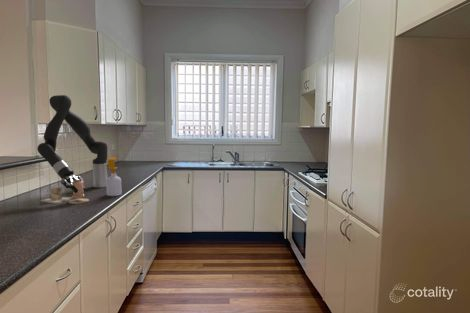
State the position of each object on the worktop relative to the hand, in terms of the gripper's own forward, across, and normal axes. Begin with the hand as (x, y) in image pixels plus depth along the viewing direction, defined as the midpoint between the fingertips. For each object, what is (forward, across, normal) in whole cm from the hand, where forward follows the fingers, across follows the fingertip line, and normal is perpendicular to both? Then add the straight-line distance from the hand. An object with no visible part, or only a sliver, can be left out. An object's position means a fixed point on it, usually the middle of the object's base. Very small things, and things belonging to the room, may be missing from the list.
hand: (80, 190), depth 180 cm
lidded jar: (+1, 0, +4) cm, 4 cm away
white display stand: (-6, -2, +16) cm, 17 cm away
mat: (+3, 0, +6) cm, 7 cm away
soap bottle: (+10, +21, 0) cm, 23 cm away
